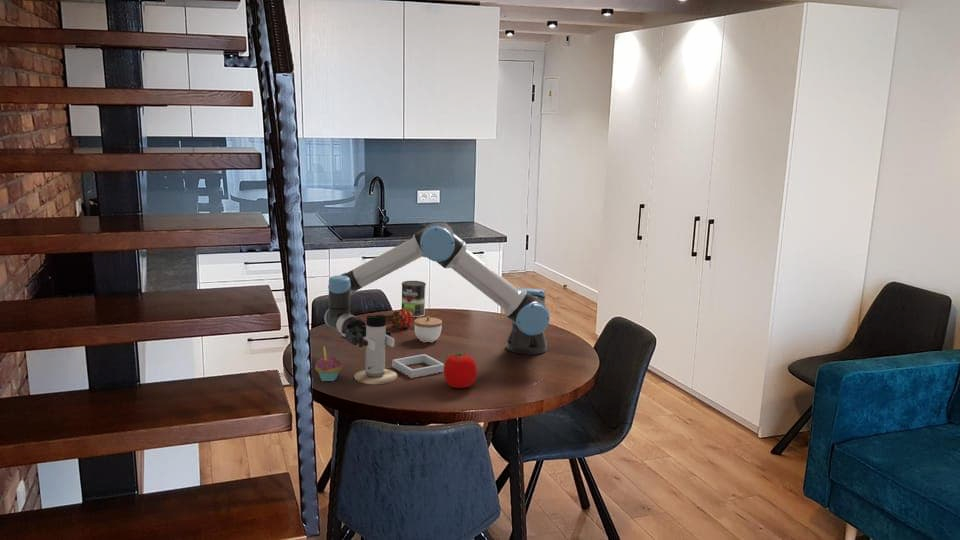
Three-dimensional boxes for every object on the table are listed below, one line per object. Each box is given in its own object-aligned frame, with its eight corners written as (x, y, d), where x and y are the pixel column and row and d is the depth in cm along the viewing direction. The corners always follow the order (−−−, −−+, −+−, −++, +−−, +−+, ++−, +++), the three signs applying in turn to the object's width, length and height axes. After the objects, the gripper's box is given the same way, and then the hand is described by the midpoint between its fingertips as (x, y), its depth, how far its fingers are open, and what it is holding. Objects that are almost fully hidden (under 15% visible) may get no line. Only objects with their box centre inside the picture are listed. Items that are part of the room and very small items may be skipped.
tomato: (480, 391, 233) (481, 358, 230) (447, 393, 230) (448, 360, 227) (471, 379, 242) (472, 348, 240) (439, 381, 239) (440, 349, 237)
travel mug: (369, 378, 237) (370, 318, 233) (362, 371, 243) (363, 313, 239) (387, 376, 240) (389, 316, 236) (380, 369, 246) (382, 311, 242)
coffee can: (419, 318, 314) (420, 286, 311) (397, 316, 317) (397, 284, 314) (428, 313, 324) (429, 281, 321) (406, 310, 327) (407, 279, 324)
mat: (405, 375, 244) (405, 373, 244) (380, 387, 232) (380, 385, 232) (371, 367, 251) (371, 365, 251) (345, 378, 239) (345, 377, 239)
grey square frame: (424, 360, 260) (424, 354, 259) (444, 371, 249) (445, 364, 249) (392, 366, 252) (392, 359, 252) (411, 378, 242) (411, 370, 241)
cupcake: (328, 385, 232) (328, 349, 230) (309, 380, 236) (308, 344, 234) (347, 378, 239) (347, 342, 237) (328, 373, 244) (327, 338, 241)
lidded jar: (440, 345, 279) (441, 321, 277) (412, 343, 279) (412, 319, 277) (442, 336, 289) (443, 313, 287) (415, 335, 289) (415, 312, 287)
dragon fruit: (394, 335, 294) (406, 331, 306) (411, 324, 292) (422, 321, 303) (384, 316, 295) (396, 314, 307) (400, 306, 293) (412, 304, 305)
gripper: (376, 333, 260) (409, 351, 241) (325, 341, 249) (356, 360, 230) (376, 313, 258) (410, 329, 240) (325, 319, 247) (356, 337, 229)
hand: (383, 344), depth 235 cm, fingers open, 6 cm apart
